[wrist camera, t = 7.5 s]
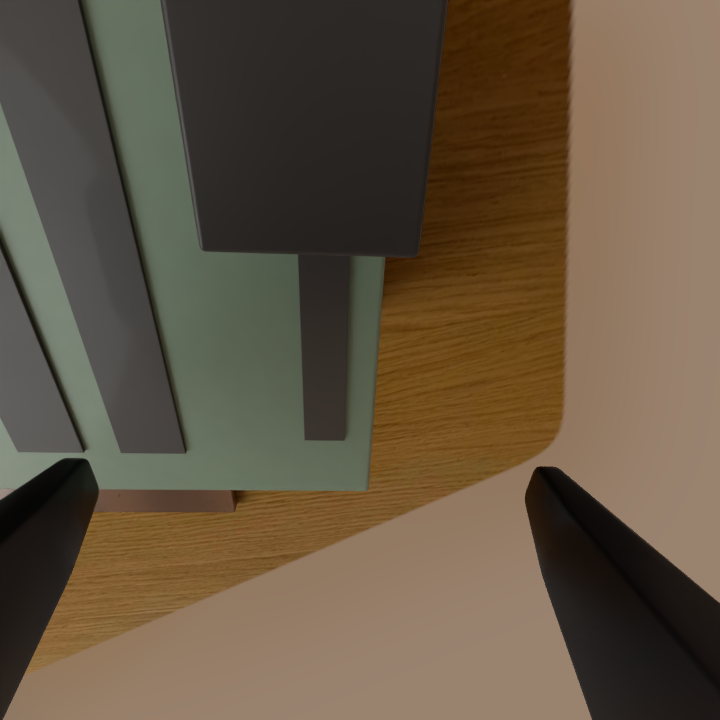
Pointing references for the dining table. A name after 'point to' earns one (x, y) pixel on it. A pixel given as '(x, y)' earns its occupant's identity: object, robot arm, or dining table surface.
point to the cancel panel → (161, 500)
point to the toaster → (156, 287)
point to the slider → (307, 121)
